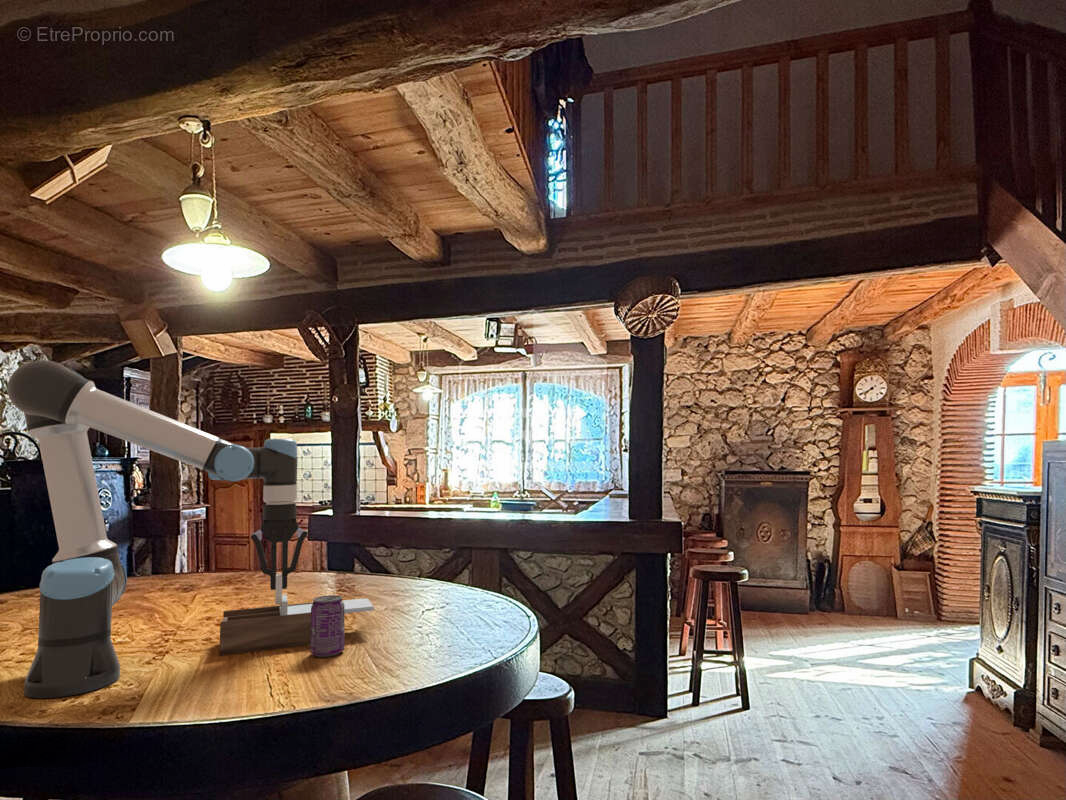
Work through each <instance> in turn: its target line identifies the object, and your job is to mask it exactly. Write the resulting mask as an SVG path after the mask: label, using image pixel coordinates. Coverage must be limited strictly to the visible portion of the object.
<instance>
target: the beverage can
mask: <svg viewBox="0 0 1066 800" xmlns="http://www.w3.org/2000/svg"><path fill="white" fill-rule="evenodd" d="M312 599H313V600H312V602H313V605H312V607H311V645H310V654H311V655H313V656H315V657H317V658H330V657H335V656H337V655H339V654H340V653H341V652H343V651H344V650H345V614H344V603H343V601H344V600H343V596H342V595H335V594H333V595H331V594H330V595H322V596H316V597H314V598H312Z"/></svg>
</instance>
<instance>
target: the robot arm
mask: <svg viewBox="0 0 1066 800" xmlns="http://www.w3.org/2000/svg"><path fill="white" fill-rule="evenodd" d="M6 390H7V395H8V398H9V400H10V401H11V403H12V404H13V405H14V406H15V407H16V408H17V409H18V410H19V411H21V412H22V413H23V414H24V415H23V416H24V420H25V424H26V429H27V433H28V434H29V435H31V436H33V437H34V438H36V439H37V440H38V443H39V444H38V445H39V449H40V455H41V461H42V464H43V470H44V476H45V481H46V487H47V491H48V497H49V502H50V507H51V513H52V518H53V523H54V528H55V533H56V540H57V544H58V545H57V546H58V551H57V553H56V554H55V556H54V557H53V558H52V560H51V561H52V564H51V565H48V566H47V567H45V569H44V570H43V571H42V574H41V579H40V582H39V591H40V594H39V612H38V613H39V616H38V639H37V640H38V641H37V650H36V653H35V655H34V658H33V661H32V662H31V666H30V668H29V670H28V672H27V675H26V677H25V679H24V685H23V686H24V687H23V694H25V695H26V697H27V696H29V697H28V698H31V697H34V698H33V699H51V698H52V699H53V698H54V699H55V698H63V697H69V696H74V695H80V694H84V693H88V692H92V691H95V690H98V689H102V688H104V687H107V686H110V685H111V684H113V683H116V681H118V680H119V679H120V677H121V675H120V674H121V665H120V662H119V658H118V655H117V653H116V650H115V647H114V645H113V644H114V643H113V641H112V637H111V635H112V617H113V616H112V615H113V612H112V611H113V606H115V604H116V603H118V602H119V600H120V599H121V597H122V596H123V595H124V592H125V591H126V587H127V582H128V576H127V571H126V568H125V566H123V564H122V562H121V559H120V554H119V549H118V545H117V543H115V542H113V541H112V540H110V539H108V537H107V532H106V525H105V521H104V515H103V510H102V506H101V500H100V496H99V489H98V484H97V479H96V473H95V469H94V462H93V458H92V451H91V448H90V444H89V443H90V442H89V436H88V431H89V429H90V428H91V429H94V430H96V431H99V432H101V433H105V434H107V435H109V436H113V437H115V438H117V439H121V440H123V441H125V442H129V443H131V444H133V445H136V446H138V447H142V448H144V449H146V450H150V451H152V452H155V453H156V454H157V453H158V454H160V455H163V456H165V457H168V458H169V459H170V458H171V459H173V460H176V461H179V462H181V463H183V464H187V465H190V466H192V467H195V468H197V469H200V470H201V471H202V470H203V471H205V472H207V473H208V475H207V476H208V478H209V479H210V480H215V481H229V482H239V481H243V480H252V479H253V480H254V479H256V480H258V479H259V480H260V479H263V491H262V492H263V493H262V494H263V499H262V500H263V502H264V503H265V504H264V505H263V506H262V508H263V510H262V524H261V526H260V529H259V530H257V531H256V532H254V533H253V532H252V534H251V536H250V538H251V539H250V540H252V541H253V542H254V544H255V547H256V552H257V556H258V560H259V564H260V568H261V572H262V574H263V575H268V576H269V577H270V581H269V582H270V584H269V587H270V590H271V591H275V592H274V593H275V594H274V595H275V598H274V600H275V601H274V603H275V604H274V606H280V605H281V604H282V595H283V590H287V588H288V575H289V574H291V573H294V572H296V569H297V566H298V562H299V558H300V553H301V550H302V547H303V543H304V541H305V539H306V538H307V536H308V535H309V533H308V531H307V530H304V529H302V528H300V527H299V526H300V525H299V524H298V521H297V517H298V516H297V504H296V503H295V502H296V501H297V500H298V499H297V498H298V492H297V491H298V488H297V487H298V482H297V481H298V459H299V458H298V444H297V442H296V440H295V439H292V438H268V439H264V440H265V441H264V442H263V446H259V447H246V446H243V445H240V444H236V443H233V442H231V441H228V440H226V439H223V438H220V437H218V436H216V435H213V434H211V433H208V432H205V431H203V430H201V429H199V428H196V427H194V426H190V425H189V424H185V423H183V422H181V421H179V420H176V419H173V418H170V417H168V416H166V415H163V414H161V413H159V412H155V411H153V410H150V409H148V408H146V407H143V406H141V405H138V404H136V403H134V402H131V401H129V400H126V399H123V398H121V397H118V396H116V395H113V394H111V393H108V392H106V391H103V390H100V389H98V388H97V387H96V385H95V382H94V381H93V380H90V379H86V378H85V377H83V375H81V374H80V373H78V372H77V371H75V370H73V369H71V368H68V367H66V366H64V365H63V364H60V363H59V362H56V361H51V360H45V359H44V360H43V359H42V360H41V359H40V360H33V361H29V362H26V363H23V364H22V365H21V366H19V367H18V368H17V369H15V371H13V373H12V374H11V376H10V377H9V378H8V382H7V388H6ZM296 532H297V533H296ZM262 534H263V535H264V537H265V538H266V539H267V540H268V542H269V543H270V568H268V564H267V560H266V557H265V553H264V548H263V544H262V539H263V535H262ZM295 534H296V537H297V541H296V543H295V547H294V551H293V554H292V555H293V556H292V558H291V562H290V566H289V567H288V565H289V563H288V562H289V561H288V559H289V557H288V556H289V548H288V547H289V541H290V540H291V539H292V538H293V536H294V535H295ZM277 543H282V545H281V547H282V548H281V549H282V550H281V574H277V547H278V545H277ZM25 695H24V696H25Z"/></svg>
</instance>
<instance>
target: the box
mask: <svg viewBox="0 0 1066 800" xmlns="http://www.w3.org/2000/svg"><path fill="white" fill-rule="evenodd" d="M313 602H314V601H312V602H311V601H310V602H303V603H301V602H300V603H292V604H288V606H295V605H305V604H313ZM280 607H281V604H279V605H272V606H263V607H262V606H261V607H252V608H241V609H231V610H223V615H222V616H223V617H222V620H221V621H220V622H219V656H221V657H222V656H228V655H237V654H244V653H252V652H261V651H269V650H276V649H277V650H279V649H285V648H292V647H301V646H302V647H303V646H311V612H309V613H300V614H290V615H281V616H280Z"/></svg>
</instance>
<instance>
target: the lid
mask: <svg viewBox="0 0 1066 800" xmlns="http://www.w3.org/2000/svg"><path fill="white" fill-rule="evenodd" d="M288 601H289V600H288V596H287V594H282V604H280V605H281V607H280V616H281V615H290V614H300V613H309V612H311V607H312V605H313V604H305V605H295V606H288V605H289V604H288ZM342 601H343V603H344V615H346V614H353V613H354V614H355V613H364V612H373V611H374V609H375V608H374V607H375V606H374V605H373V604H372V602H371V601H370V600H369V599H368V598H367V597H366V598H358V599H357V598H356V599H346V600H342Z"/></svg>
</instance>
